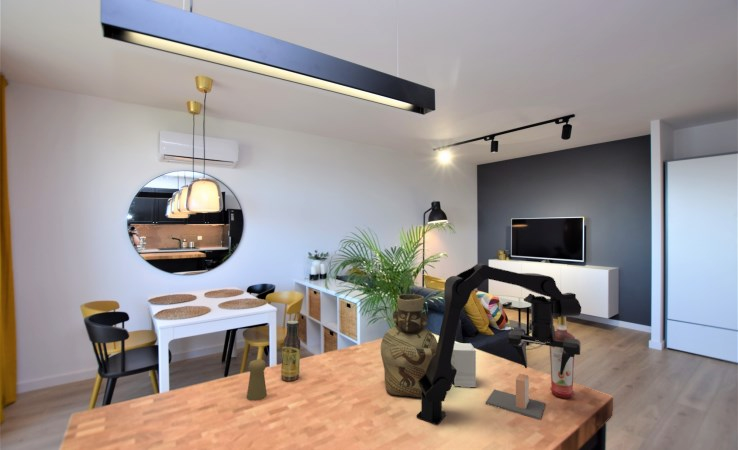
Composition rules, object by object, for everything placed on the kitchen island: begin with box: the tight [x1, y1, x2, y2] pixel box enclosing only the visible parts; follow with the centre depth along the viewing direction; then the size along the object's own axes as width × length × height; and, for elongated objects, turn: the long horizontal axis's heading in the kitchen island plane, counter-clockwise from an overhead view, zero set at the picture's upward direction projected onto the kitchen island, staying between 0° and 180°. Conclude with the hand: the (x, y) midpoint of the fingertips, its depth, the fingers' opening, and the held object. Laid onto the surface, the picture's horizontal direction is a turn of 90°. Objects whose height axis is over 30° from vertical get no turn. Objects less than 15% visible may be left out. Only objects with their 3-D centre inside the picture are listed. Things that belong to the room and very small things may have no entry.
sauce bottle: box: [280, 320, 301, 382], centre depth 120 cm, size 6×6×20 cm
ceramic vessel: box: [380, 293, 438, 398], centre depth 114 cm, size 19×21×30 cm
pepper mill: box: [246, 358, 268, 402], centre depth 107 cm, size 6×6×11 cm
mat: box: [485, 388, 546, 420], centre depth 103 cm, size 10×15×1 cm, turn 55°
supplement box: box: [451, 342, 477, 388], centre depth 117 cm, size 7×7×13 cm
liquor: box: [549, 317, 576, 399], centre depth 109 cm, size 7×7×28 cm
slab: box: [515, 373, 530, 409], centre depth 102 cm, size 5×3×8 cm, turn 145°
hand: (543, 371), depth 99 cm, fingers open, 9 cm apart
